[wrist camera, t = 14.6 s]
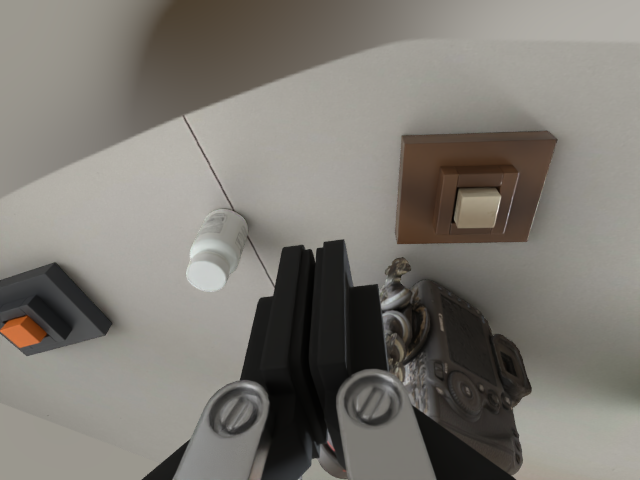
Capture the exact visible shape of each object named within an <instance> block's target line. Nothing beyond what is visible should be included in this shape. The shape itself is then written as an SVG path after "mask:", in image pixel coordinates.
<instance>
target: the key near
mask: <svg viewBox="0 0 640 480" xmlns="http://www.w3.org/2000/svg"><path fill="white" fill-rule="evenodd" d="M500 199H501V195H500V194H499V192H498V191H497V189H496V188H495V187H490V188H459V189H458V195H457V201H456V207H455V213H454V221H455V223H456V225H457V228H494V225H495V221H496V216H497V212H498V208H499V204H500Z"/></svg>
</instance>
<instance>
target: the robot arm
mask: <svg viewBox="0 0 640 480" xmlns="http://www.w3.org/2000/svg"><path fill="white" fill-rule="evenodd" d="M328 432H329V435H330V438H331V441H332V444H333V447H334V450H335V453H336V456H337V459H338V463H339V464H340V465H341V466H342V467H343V468H344V469H345V470H346V471H347V477H348V480H516V479H515V478H514V477H512V476H511V475H509V474H508V473H507V472H505V471H504V470H502V469H501V468H500V467H498V466H497V465H495V464H494V463H493V462H491V461H490V460H489V459H487V458H486V457H484V456H483V455H482V454H480V453H479V452H477V451H476V450H475V449H473V448H472V447H470V446H469V445H468V444H466V443H465V442H463V441H462V440H461V439H459V438H458V437H456V436H455V435H454V434H452V433H451V432H449V431H448V430H447V429H445V428H444V427H442V426H441V425H440V424H438V423H437V422H435V421H434V420H433V419H431V418H430V417H428V416H427V415H426V414H424V413H423V412H421V411H420V410H419V409H417V408H416V407H415V406H413V405H412V404H411V401H410V398H409V395H408V392H407V390H406V388H405V386H404V384H403V383H402V382H401V381H400V380H399V379H398V378H397V377H396V376H395V375H393V374H391V373H389V365H388V357H387V348H386V340H385V332H384V324H383V316H382V309H381V302H380V295H379V288H378V284H375V285H366V286H357V287H353V282H352V277H351V271H350V266H349V261H348V256H347V250H346V245H345V241H344V239H343V240H335V241H328V242H324V245H323V248H317V250H316V263H315V259H314V255H313V252H312V250H311V249H308V250H305V247H304V245H298V246H290V247H284V248H283V249H282V253H281V258H280V263H279V269H278V274H277V279H276V284H275V290H274V295H273V296H271V297H263V298H260V299H259V301H258V304H257V309H256V313H255V317H254V322H253V326H252V330H251V335H250V339H249V343H248V348H247V352H246V356H245V361H244V365H243V369H242V374H241V378H240V381H235V382H233V383H230V384H227V385H226V386H224V387H222V388H221V389H219V390H218V391H217V392H216V393H215V394H214V395H213V396H212V397H211V398H210V399H209V401H208V403H207V404H206V406H205V408H204V410H203V412H202V414H201V417H200V419H199V421H198V424H197V426H196V428H195V430H194V433H193V435H192V437H191V439H190V440H188V441H187V442H186V443H185V444H184V445H182V446H181V447H180V448H179V449H178V450H176V451H175V452H174V453H173V454H172V455H171V456H169V457H168V458H167V459H166V460H165V461H163V462H162V463H161V464H160V465H159V466H157V467H156V468H155V469H154V470H153V471H151V472H150V473H149V474H148V475H147V476H146V477H144V478H143V479H142V480H302V475H303V474H304V472H305V471H306V470H307V469H308V468H309V467H310V466H311V460H312V459H313V458H320V444H327V441H328Z"/></svg>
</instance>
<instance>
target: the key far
mask: <svg viewBox="0 0 640 480" xmlns="http://www.w3.org/2000/svg"><path fill="white" fill-rule="evenodd" d="M0 332H1V333H3V334H4V335H5V336H6V337H7V338H8V339H10V340H11V341H12V342H13V343H14V344H16V345H17V346H18V347H19V348H22V347H25V346H29V345H33V344H37V343H40V342H41V341H42V339H43V338H44V337H45V336H46V334H47V333H46V332H45V331H44V330H43V329H42V328H41V327H40V326H39V325H38V324H37V323H36V322H34V321H33V320H32V319H31V318H30V317H29V316H28V315H26V316H22V317H19V318H15V319H12V320H9V321H8V322H7V323H6V324H5V325H4V326H3V327H2V328H1V330H0Z"/></svg>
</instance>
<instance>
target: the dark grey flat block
mask: <svg viewBox="0 0 640 480" xmlns="http://www.w3.org/2000/svg"><path fill="white" fill-rule="evenodd" d="M26 315H28V316H29V317H30V318H31V319H32V320H33V321H34V322H36V323H37V324H38V325H39V326H40V327H41V328H42V329H43V330H44V331H45V332H46V333H47V334H46V336H45V337H44V338H43V339H42V341H41V342H40V343H37V344H33V345H29V346H25V347H22V348H19V347H18V346H17V345H16V344H14V343H13V342H12V341H11V340H10V339H8V338H7V337H6V336H5V335H4V334H3V333H1V332H0V334H1V335H2V336H4V337H5V338H6V339H7V340H8V341H10V342H11V343H12V344H13V345H14V346H15V347H17V348H18V349H19V350H20V351H21V352H23V353H24V354H25V355H26V356H29V355H33V354H37V353H41V352H45V351H48V350H52V349H56V348H60V347H63V346H67V345H71V344H75V343H79V342H82V341H86V340H90V339H94V338H97V337H101V336H105V335H106V333H107V332H108V330H109V328H110V327H111V325H112V323H111V322H110V321H109V320H108V319H107V317H106V316H105V315H104V314H103V313H102V312H101V311H100V310H99V309H98V308H97V307H96V306H95V305H94V304H93V303H92V301H91V300H90V299H89V298H88V297H87V296H86V295H85V294H84V293H83V292H82V291H81V290H80V289H79V288H78V287H77V286H76V284H75V283H74V282H73V281H72V280H71V279H70V278H69V277H68V276H67V275H66V274H65V273H64V272H63V271H62V270H61V268H60V267H59V266H58V265H57V264H56V263H52V264H49V265H46V266H43V267H40V268H37V269H34V270H30V271H27V272H24V273H21V274H18V275H15V276H12V277H9V278H6V279H3V280H0V330H1V328H2V327H3V326H4V325H5V324H6V323H7V322H8V321H9V320H12V319H15V318H19V317H22V316H26Z"/></svg>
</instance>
